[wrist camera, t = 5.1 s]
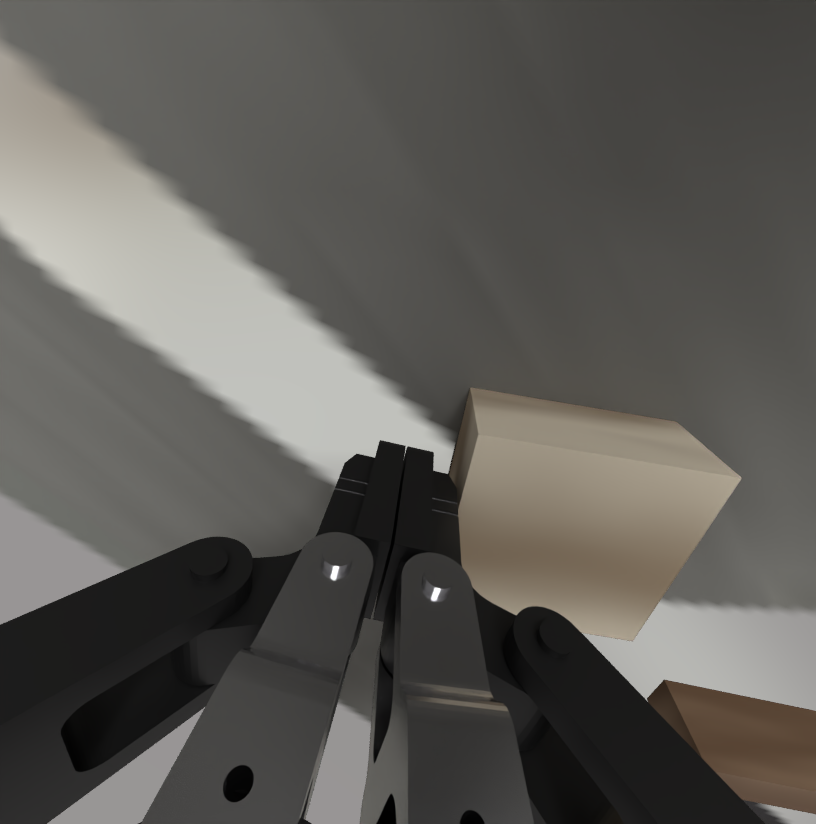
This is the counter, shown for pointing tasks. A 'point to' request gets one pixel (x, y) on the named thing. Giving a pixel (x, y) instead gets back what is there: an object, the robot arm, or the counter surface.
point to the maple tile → (580, 507)
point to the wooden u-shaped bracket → (747, 742)
